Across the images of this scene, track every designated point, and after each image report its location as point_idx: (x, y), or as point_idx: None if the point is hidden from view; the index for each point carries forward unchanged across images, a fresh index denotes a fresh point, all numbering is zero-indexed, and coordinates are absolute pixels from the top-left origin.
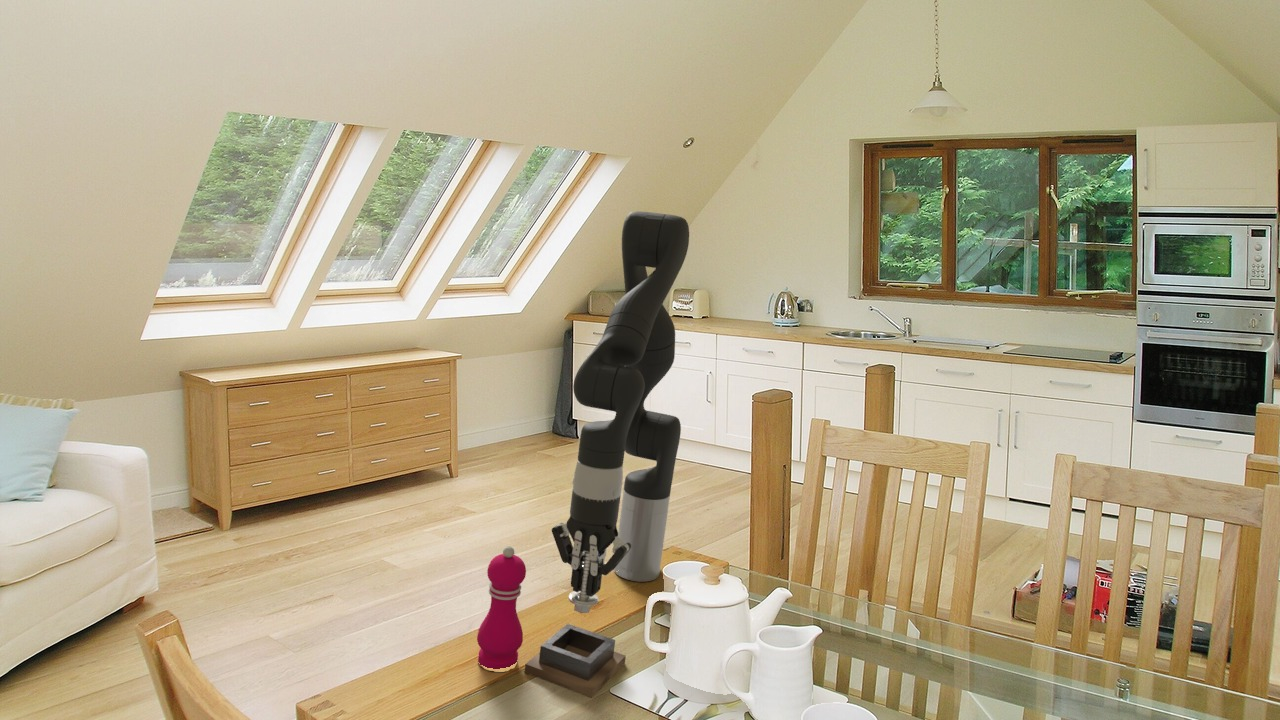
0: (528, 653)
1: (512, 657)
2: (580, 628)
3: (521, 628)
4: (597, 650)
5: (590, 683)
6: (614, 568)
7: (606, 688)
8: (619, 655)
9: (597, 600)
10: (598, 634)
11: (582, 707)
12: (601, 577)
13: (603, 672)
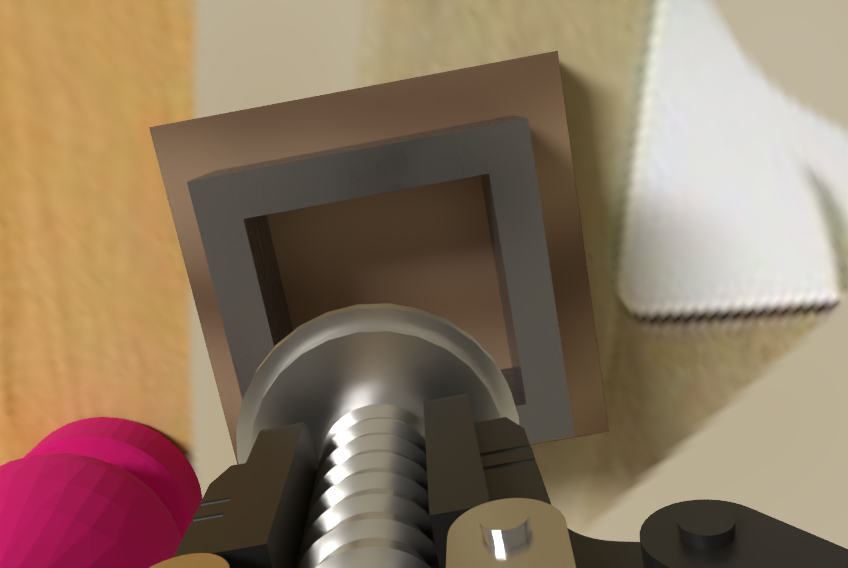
0: (143, 339)
1: (174, 520)
2: (283, 168)
3: (114, 548)
4: (520, 299)
5: (575, 405)
6: (769, 524)
7: (605, 305)
8: (531, 78)
9: (500, 392)
10: (410, 142)
11: (609, 491)
12: (546, 497)
13: (564, 281)
